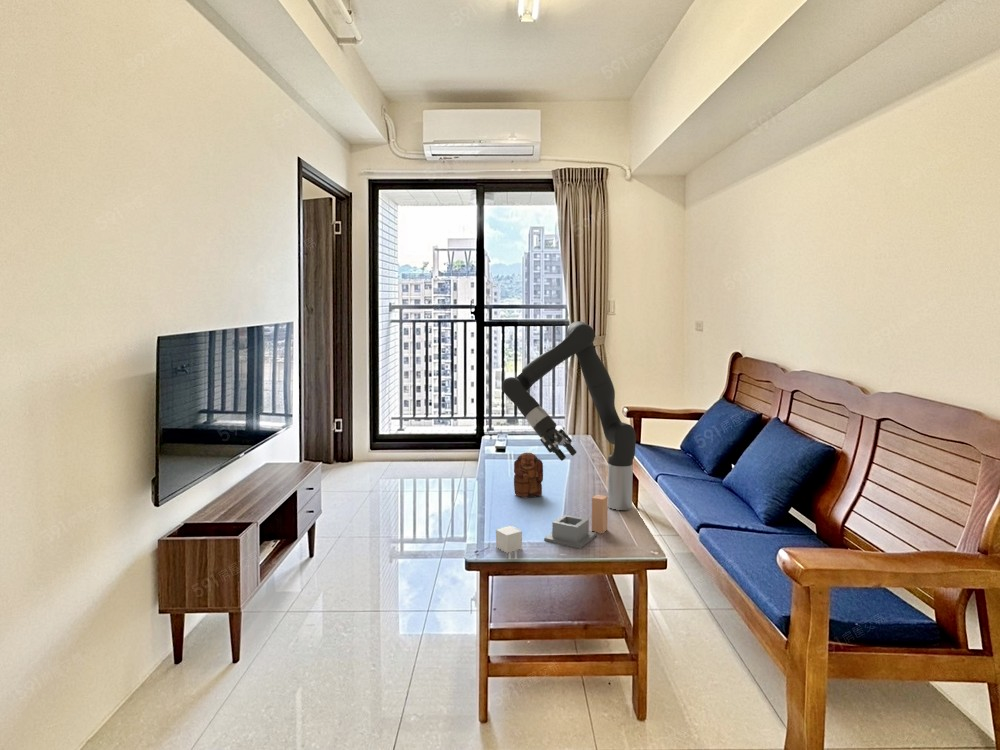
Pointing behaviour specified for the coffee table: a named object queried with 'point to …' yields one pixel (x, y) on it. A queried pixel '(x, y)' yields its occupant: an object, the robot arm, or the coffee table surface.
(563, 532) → the well
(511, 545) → the white cube
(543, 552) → the coffee table surface
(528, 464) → the wooden figurine
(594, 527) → the orange rectangular block
